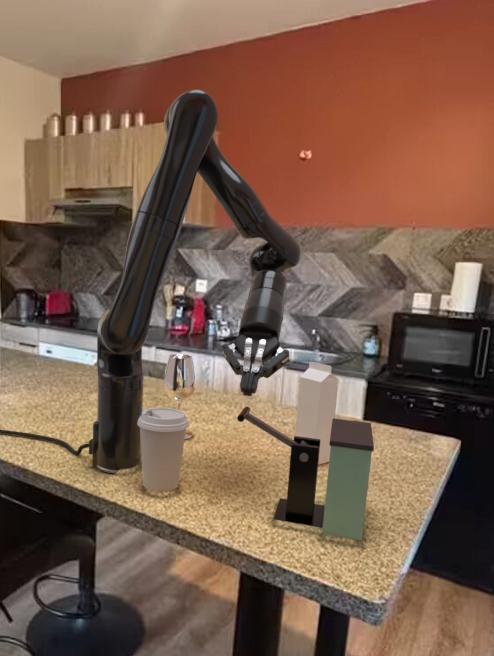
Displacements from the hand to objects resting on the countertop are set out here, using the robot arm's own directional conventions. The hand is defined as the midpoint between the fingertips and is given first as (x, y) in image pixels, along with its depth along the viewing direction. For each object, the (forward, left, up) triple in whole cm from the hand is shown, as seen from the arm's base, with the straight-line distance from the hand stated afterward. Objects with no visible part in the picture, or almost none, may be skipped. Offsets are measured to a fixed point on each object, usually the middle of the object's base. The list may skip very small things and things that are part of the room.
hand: (247, 393), depth 96 cm
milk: (+11, +29, -21) cm, 37 cm away
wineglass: (-22, +33, -21) cm, 45 cm away
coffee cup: (-15, 0, -21) cm, 26 cm away
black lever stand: (+11, -2, -20) cm, 23 cm away
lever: (+5, -2, -7) cm, 9 cm away
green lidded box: (+18, -2, -20) cm, 27 cm away
